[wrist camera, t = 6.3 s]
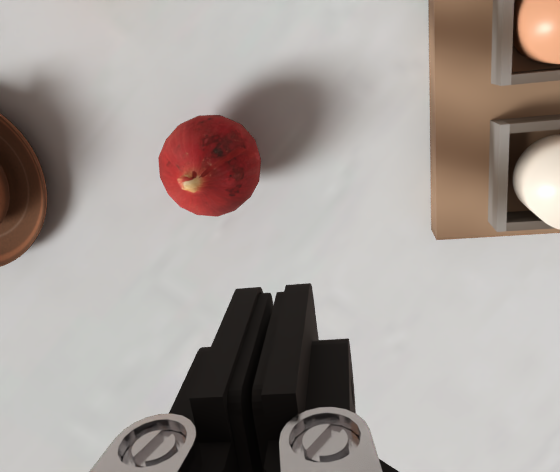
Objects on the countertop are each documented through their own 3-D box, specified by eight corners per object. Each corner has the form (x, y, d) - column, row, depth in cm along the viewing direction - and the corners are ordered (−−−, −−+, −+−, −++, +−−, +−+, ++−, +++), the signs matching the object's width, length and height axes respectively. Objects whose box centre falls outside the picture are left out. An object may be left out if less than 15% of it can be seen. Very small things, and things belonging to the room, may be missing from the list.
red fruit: (223, 89, 33) (189, 100, 26) (287, 157, 34) (271, 187, 27) (162, 151, 35) (113, 179, 27) (224, 214, 36) (192, 258, 28)
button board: (425, -219, 27) (439, -262, 23) (683, -263, 25) (743, -317, 22) (431, 229, 35) (442, 251, 31) (630, 217, 33) (667, 239, 29)
